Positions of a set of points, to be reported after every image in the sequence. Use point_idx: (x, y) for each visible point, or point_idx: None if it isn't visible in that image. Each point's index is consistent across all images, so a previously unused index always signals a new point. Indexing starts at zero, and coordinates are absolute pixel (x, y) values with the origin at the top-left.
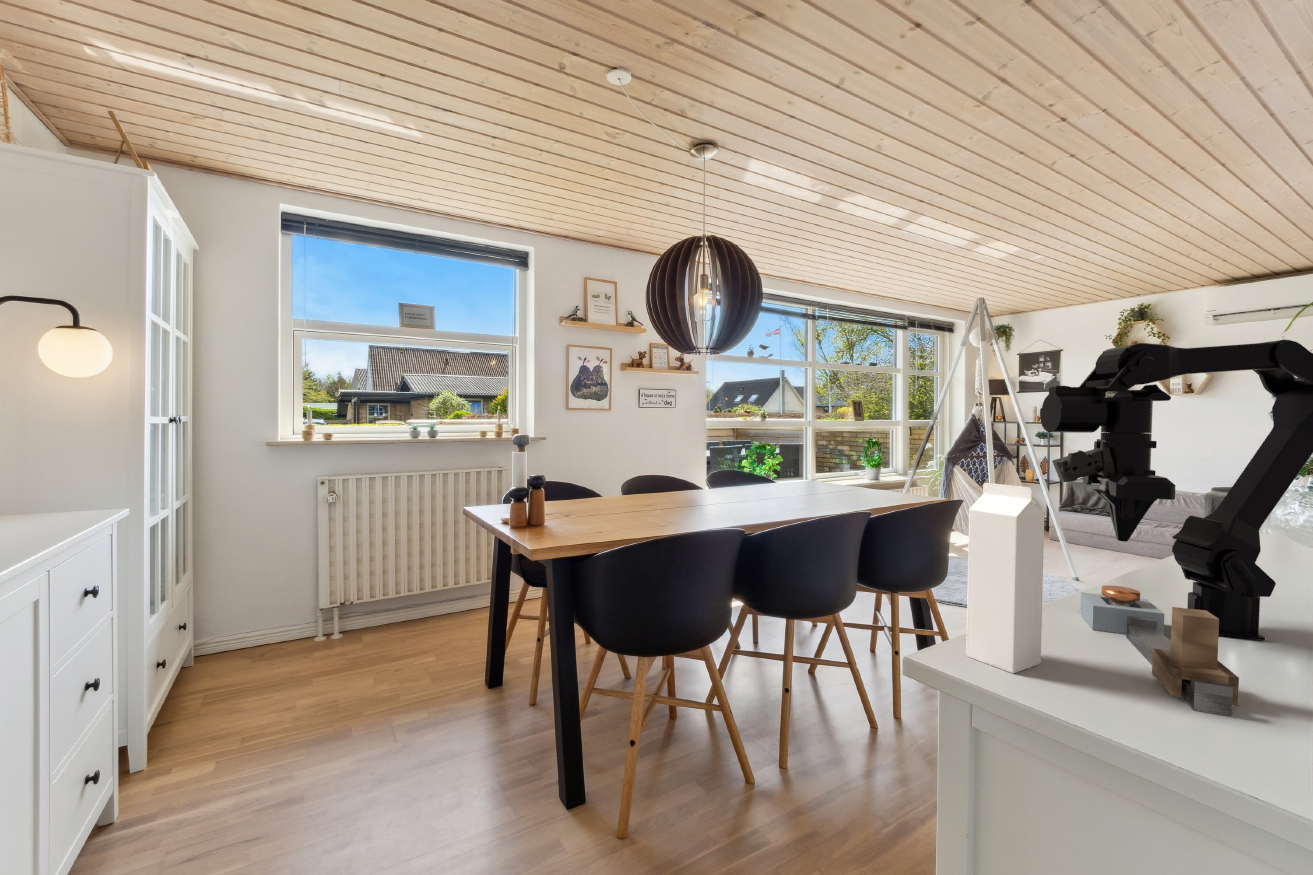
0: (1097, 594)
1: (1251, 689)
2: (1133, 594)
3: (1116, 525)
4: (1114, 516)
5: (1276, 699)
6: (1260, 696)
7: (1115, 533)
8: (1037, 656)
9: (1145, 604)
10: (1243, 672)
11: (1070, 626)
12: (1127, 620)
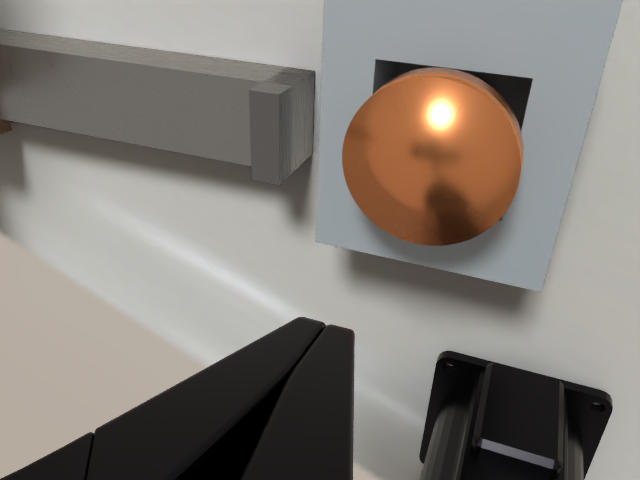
0: (584, 84)
1: (50, 203)
2: (348, 187)
3: (181, 388)
4: (107, 464)
5: (23, 218)
6: (21, 197)
7: (339, 358)
8: None
9: None
10: (150, 251)
11: None
12: (277, 88)
